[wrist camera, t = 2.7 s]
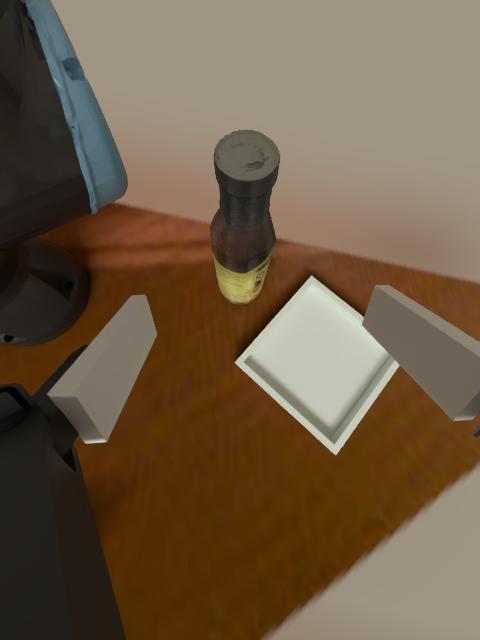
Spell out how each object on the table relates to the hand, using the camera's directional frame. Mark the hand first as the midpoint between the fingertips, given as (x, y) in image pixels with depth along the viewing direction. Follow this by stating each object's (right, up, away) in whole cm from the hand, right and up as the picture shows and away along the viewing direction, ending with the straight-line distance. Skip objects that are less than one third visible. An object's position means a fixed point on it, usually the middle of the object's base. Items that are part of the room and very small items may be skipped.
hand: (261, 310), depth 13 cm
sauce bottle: (-1, +5, +19) cm, 20 cm away
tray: (+9, -6, +17) cm, 20 cm away
